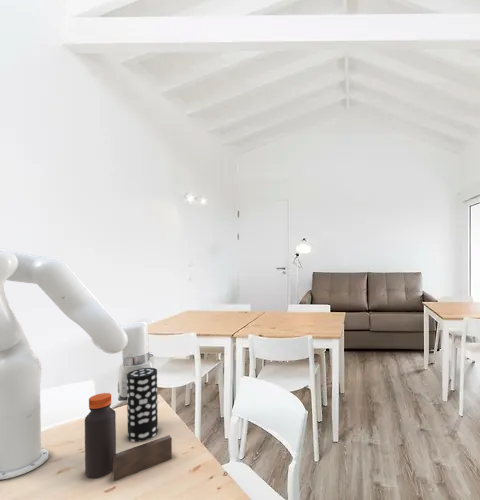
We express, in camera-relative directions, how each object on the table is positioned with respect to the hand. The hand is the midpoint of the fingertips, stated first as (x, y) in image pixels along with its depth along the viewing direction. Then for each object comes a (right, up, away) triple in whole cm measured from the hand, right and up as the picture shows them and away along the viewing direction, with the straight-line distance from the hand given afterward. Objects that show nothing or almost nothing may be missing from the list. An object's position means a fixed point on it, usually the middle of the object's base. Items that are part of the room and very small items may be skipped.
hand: (137, 413), depth 119 cm
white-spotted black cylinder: (+6, -4, -6) cm, 9 cm away
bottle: (+5, -5, -24) cm, 25 cm away
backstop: (+15, -4, -23) cm, 28 cm away
